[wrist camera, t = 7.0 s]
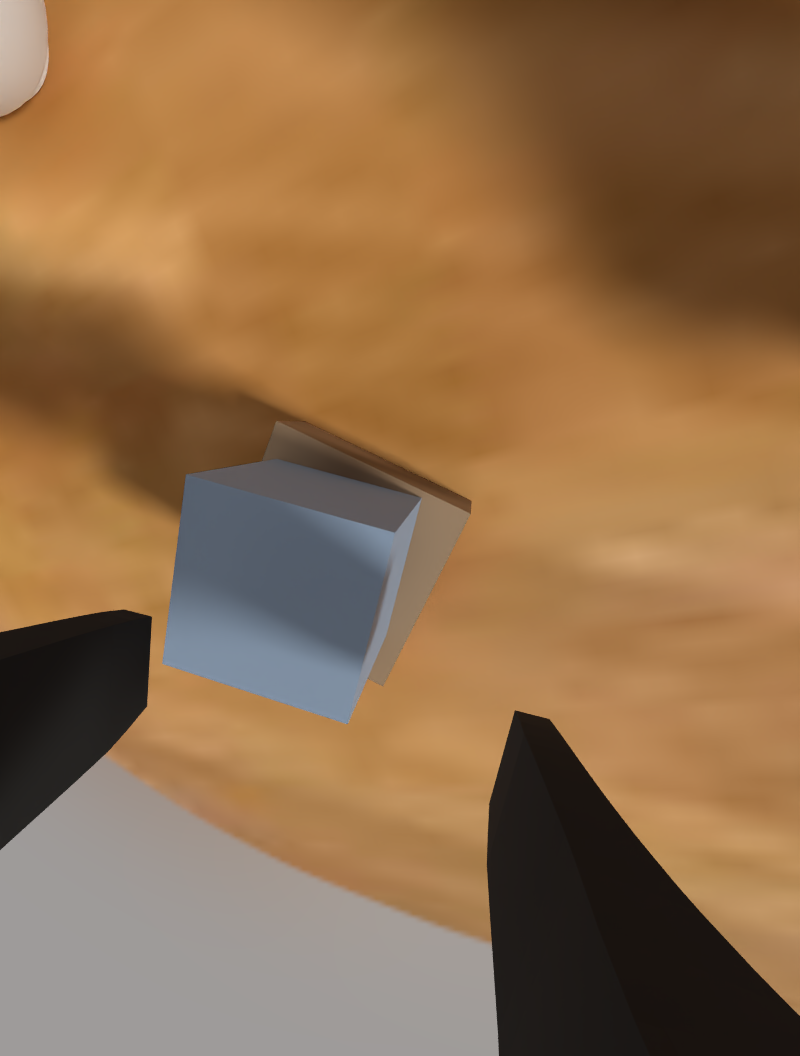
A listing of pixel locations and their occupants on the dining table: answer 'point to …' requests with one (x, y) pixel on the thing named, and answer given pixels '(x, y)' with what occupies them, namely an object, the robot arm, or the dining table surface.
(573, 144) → the dining table surface
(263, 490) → the blue cube
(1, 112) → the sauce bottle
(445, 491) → the walnut block
